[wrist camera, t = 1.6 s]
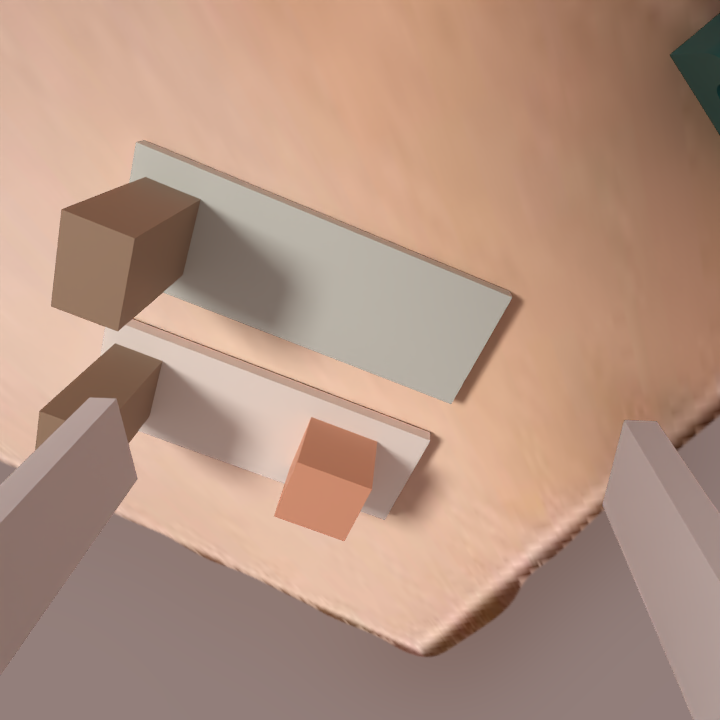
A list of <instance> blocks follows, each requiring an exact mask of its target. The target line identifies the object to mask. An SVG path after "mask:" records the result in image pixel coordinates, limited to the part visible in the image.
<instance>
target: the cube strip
mask: <svg viewBox="0 0 720 720" xmlns="http://www.w3.org/2000/svg"><path fill="white" fill-rule="evenodd" d="M89 397H92V398H115V399H117V402H118V406H119V410H120V414H121V417H122V421H123V425H124V429H125V433H126V436H127V440H128V444H129V442H130V441H131V440H132V438H133V437H134V436H135V435H136V433H137V432H138V431H140V432H143V433H145V434H148V435H151V436H154V437H156V438H159V439H162V440H165V441H167V442H170V443H173V444H176V445H179V446H181V447H184V448H187V449H190V450H192V451H195V452H198V453H201V454H203V455H206V456H209V457H212V458H214V459H217V460H220V461H223V462H226V463H228V464H231V465H234V466H237V467H239V468H242V469H245V470H248V471H250V472H253V473H256V474H259V475H262V476H264V477H267V478H270V479H273V480H275V481H278V482H281V483H284V484H285V481H286V478H287V475H288V472H289V469H290V466H291V464H292V461H293V459H294V457H295V454H296V452H297V450H298V447H299V445H300V443H301V440H302V438H303V435H304V433H305V431H306V428H307V426H308V424H309V421H310V419H311V417H313V418H316V419H318V420H321V421H324V422H326V423H329V424H332V425H334V426H337V427H340V428H342V429H345V430H348V431H350V432H353V433H356V434H358V435H361V436H364V437H366V438H369V439H372V440H374V441H377V449H376V458H375V467H374V476H373V485H372V490H371V492H370V494H369V496H368V498H367V500H366V502H365V504H364V505H363V507H362V509H361V512H364V513H367V514H369V515H372V516H375V517H378V518H380V519H383V520H385V519H386V517H387V515H388V514H389V512H390V510H391V508H392V507H393V505H394V503H395V501H396V500H397V498H398V496H399V494H400V493H401V491H402V489H403V487H404V486H405V484H406V482H407V480H408V479H409V477H410V475H411V473H412V472H413V470H414V468H415V466H416V465H417V463H418V461H419V459H420V458H421V456H422V454H423V453H424V451H425V449H426V447H427V446H428V444H429V442H430V432H428V431H425V430H423V429H420V428H417V427H415V426H412V425H409V424H407V423H404V422H402V421H399V420H396V419H394V418H391V417H388V416H386V415H383V414H381V413H378V412H375V411H373V410H370V409H367V408H365V407H362V406H360V405H357V404H354V403H352V402H349V401H347V400H344V399H341V398H339V397H336V396H333V395H331V394H328V393H326V392H323V391H320V390H318V389H315V388H312V387H310V386H307V385H305V384H302V383H299V382H297V381H294V380H291V379H289V378H286V377H284V376H281V375H278V374H276V373H273V372H270V371H268V370H265V369H263V368H260V367H257V366H255V365H252V364H249V363H247V362H244V361H242V360H239V359H236V358H234V357H231V356H228V355H226V354H223V353H221V352H218V351H215V350H213V349H210V348H207V347H205V346H202V345H200V344H197V343H194V342H192V341H189V340H186V339H184V338H181V337H179V336H176V335H173V334H171V333H168V332H165V331H163V330H160V329H158V328H155V327H152V326H150V325H147V324H144V323H142V322H139V321H137V320H134V319H132V320H131V321H129V322H128V323H127V324H126V325H125V326H124V327H122V328H121V329H120V330H119V331H115V330H112V329H110V328H107V327H105V331H104V337H103V343H102V349H101V355H100V357H99V358H98V359H97V360H96V361H95V362H94V363H93V364H92V365H90V366H89V367H88V368H87V369H86V370H85V371H84V372H83V373H81V374H80V375H79V376H78V377H77V378H76V379H75V380H74V381H73V382H71V383H70V384H69V385H68V386H67V387H66V388H65V389H64V390H63V391H61V392H60V393H59V394H58V395H57V396H56V397H55V398H54V399H53V400H51V401H50V402H49V403H48V404H47V405H46V406H45V407H44V408H43V409H41V410H40V411H39V421H38V430H37V439H36V448H35V450H36V449H37V448H38V447H39V446H40V445H41V444H42V443H44V442H45V441H46V440H47V439H48V438H49V437H50V436H51V435H52V434H53V433H54V432H55V431H56V430H57V429H58V428H59V427H60V426H61V425H62V424H63V423H64V422H65V421H66V420H67V419H68V418H69V417H70V416H71V415H72V414H73V413H74V412H75V411H76V410H77V409H78V408H79V407H80V406H81V405H82V404H83V403H84V402H85V401H86V400H87V399H88V398H89Z"/></svg>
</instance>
